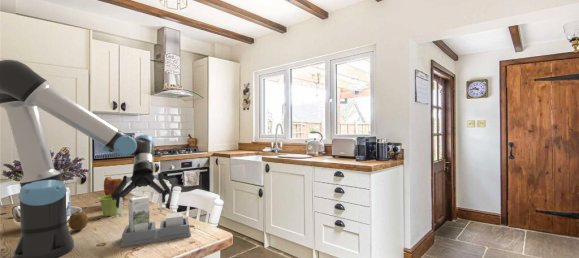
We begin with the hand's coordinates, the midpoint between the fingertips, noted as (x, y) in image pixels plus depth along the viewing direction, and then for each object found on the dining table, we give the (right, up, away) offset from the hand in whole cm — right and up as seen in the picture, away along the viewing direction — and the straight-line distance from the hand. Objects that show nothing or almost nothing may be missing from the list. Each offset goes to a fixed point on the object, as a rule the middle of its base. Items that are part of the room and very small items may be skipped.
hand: (140, 212), depth 107 cm
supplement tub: (-48, -11, +21) cm, 53 cm away
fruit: (-30, -10, +10) cm, 34 cm away
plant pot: (-30, -10, +31) cm, 44 cm away
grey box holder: (+5, -10, +2) cm, 11 cm away
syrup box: (0, -9, 0) cm, 9 cm away
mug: (-39, -10, +47) cm, 62 cm away
